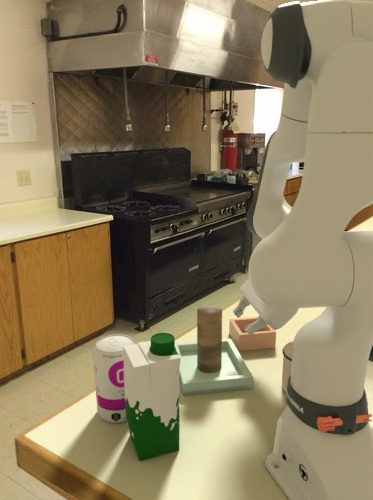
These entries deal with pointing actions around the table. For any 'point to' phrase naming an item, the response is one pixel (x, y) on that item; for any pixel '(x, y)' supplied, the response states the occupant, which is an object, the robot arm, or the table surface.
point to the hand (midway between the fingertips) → (241, 323)
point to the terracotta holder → (257, 341)
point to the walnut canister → (209, 339)
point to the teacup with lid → (286, 364)
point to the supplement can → (110, 377)
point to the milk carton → (152, 395)
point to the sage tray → (225, 379)
